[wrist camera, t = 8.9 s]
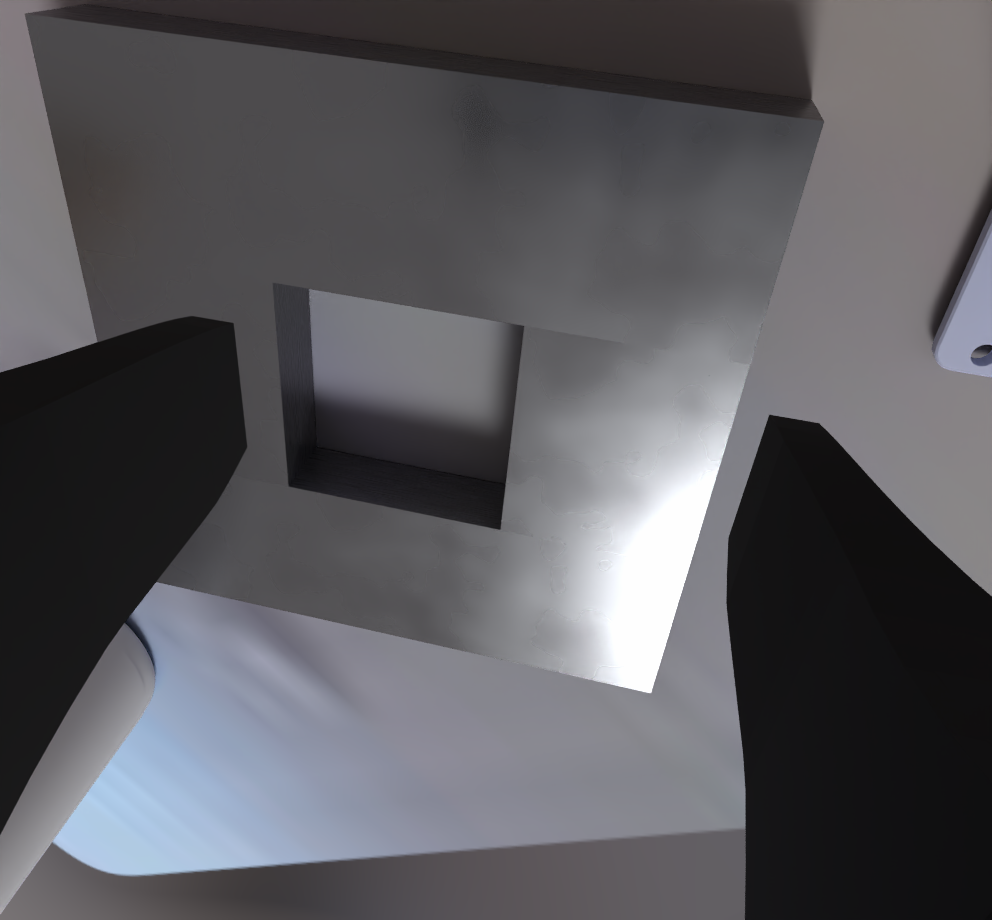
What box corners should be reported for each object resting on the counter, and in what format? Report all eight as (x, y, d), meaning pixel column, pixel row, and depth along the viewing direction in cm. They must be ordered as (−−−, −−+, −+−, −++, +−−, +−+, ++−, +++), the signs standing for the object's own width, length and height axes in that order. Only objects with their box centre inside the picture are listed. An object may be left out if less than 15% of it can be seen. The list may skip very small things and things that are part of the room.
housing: (812, 99, 16) (823, 121, 15) (654, 643, 25) (650, 693, 24) (85, 4, 18) (24, 13, 17) (183, 541, 27) (150, 580, 26)
